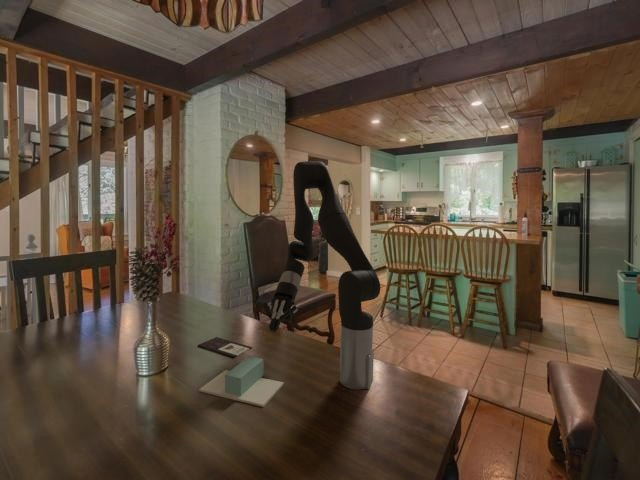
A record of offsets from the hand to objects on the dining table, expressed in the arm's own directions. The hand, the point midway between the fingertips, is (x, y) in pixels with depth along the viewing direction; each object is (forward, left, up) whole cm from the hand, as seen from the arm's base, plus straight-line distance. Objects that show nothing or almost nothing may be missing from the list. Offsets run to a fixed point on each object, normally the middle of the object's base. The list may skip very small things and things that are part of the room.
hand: (272, 331), depth 108 cm
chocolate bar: (+21, -3, -11) cm, 24 cm away
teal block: (0, +10, -7) cm, 12 cm away
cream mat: (0, +17, -10) cm, 20 cm away
